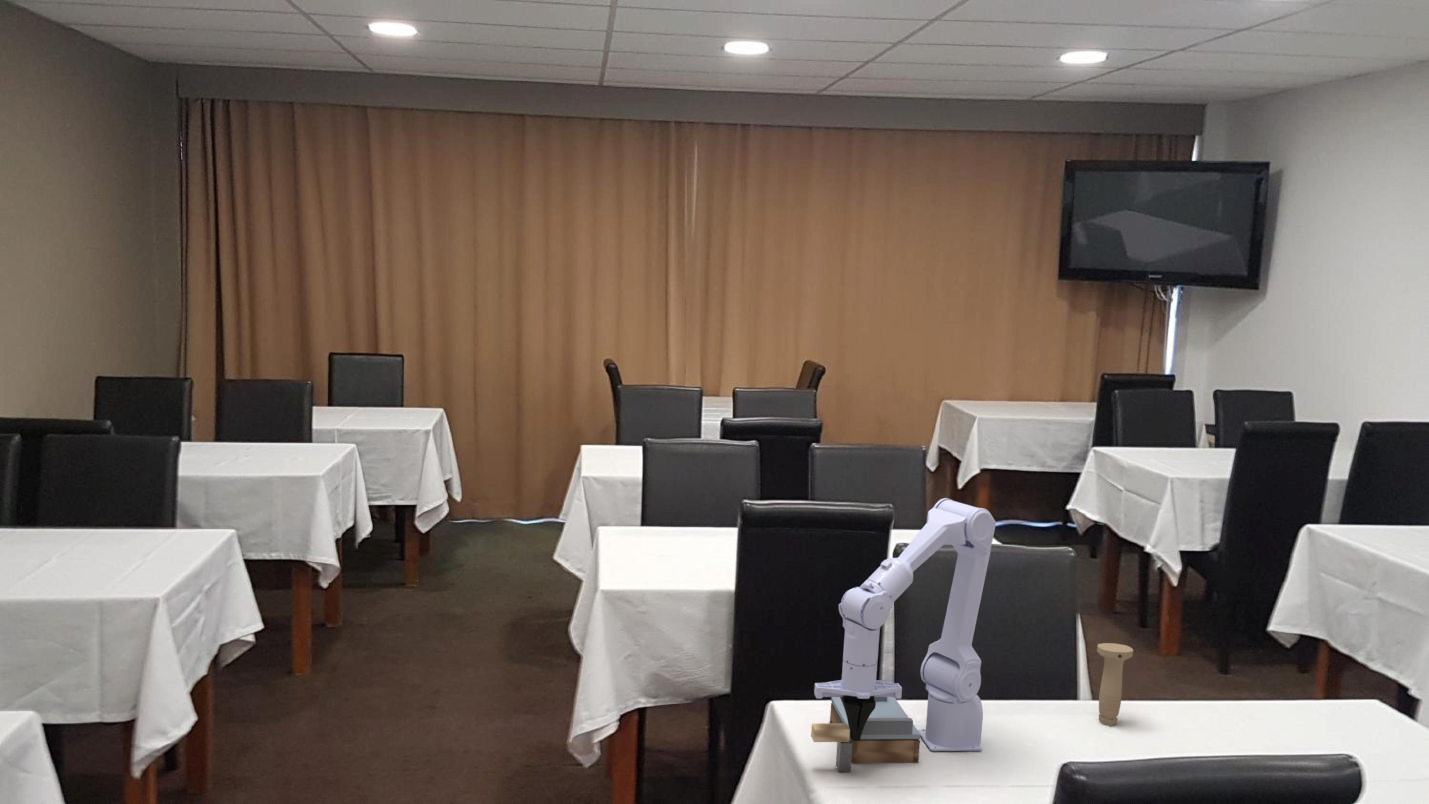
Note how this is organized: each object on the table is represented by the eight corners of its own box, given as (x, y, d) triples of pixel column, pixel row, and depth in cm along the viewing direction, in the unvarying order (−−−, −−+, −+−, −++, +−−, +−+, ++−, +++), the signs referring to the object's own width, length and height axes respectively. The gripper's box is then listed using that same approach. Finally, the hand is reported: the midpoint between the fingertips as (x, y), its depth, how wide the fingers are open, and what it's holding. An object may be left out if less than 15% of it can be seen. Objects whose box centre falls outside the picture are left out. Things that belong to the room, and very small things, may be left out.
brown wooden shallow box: (892, 723, 202) (894, 702, 202) (918, 762, 186) (919, 740, 186) (829, 723, 201) (831, 702, 200) (850, 763, 185) (851, 740, 185)
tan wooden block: (845, 735, 183) (846, 723, 183) (849, 741, 181) (850, 729, 181) (811, 735, 182) (811, 723, 182) (814, 742, 180) (814, 729, 180)
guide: (847, 765, 184) (849, 736, 183) (850, 772, 182) (852, 743, 181) (835, 765, 184) (837, 736, 183) (838, 772, 181) (840, 743, 181)
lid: (894, 701, 202) (895, 679, 201) (920, 738, 186) (921, 715, 185) (831, 701, 200) (832, 678, 200) (852, 739, 184) (853, 715, 184)
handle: (1129, 728, 205) (1137, 652, 203) (1095, 727, 205) (1103, 651, 203) (1119, 718, 210) (1126, 643, 208) (1086, 716, 210) (1093, 642, 208)
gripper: (822, 668, 176) (817, 748, 177) (909, 669, 177) (903, 747, 179) (813, 653, 182) (808, 729, 184) (897, 653, 184) (891, 729, 186)
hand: (854, 737), depth 182 cm, fingers closed
